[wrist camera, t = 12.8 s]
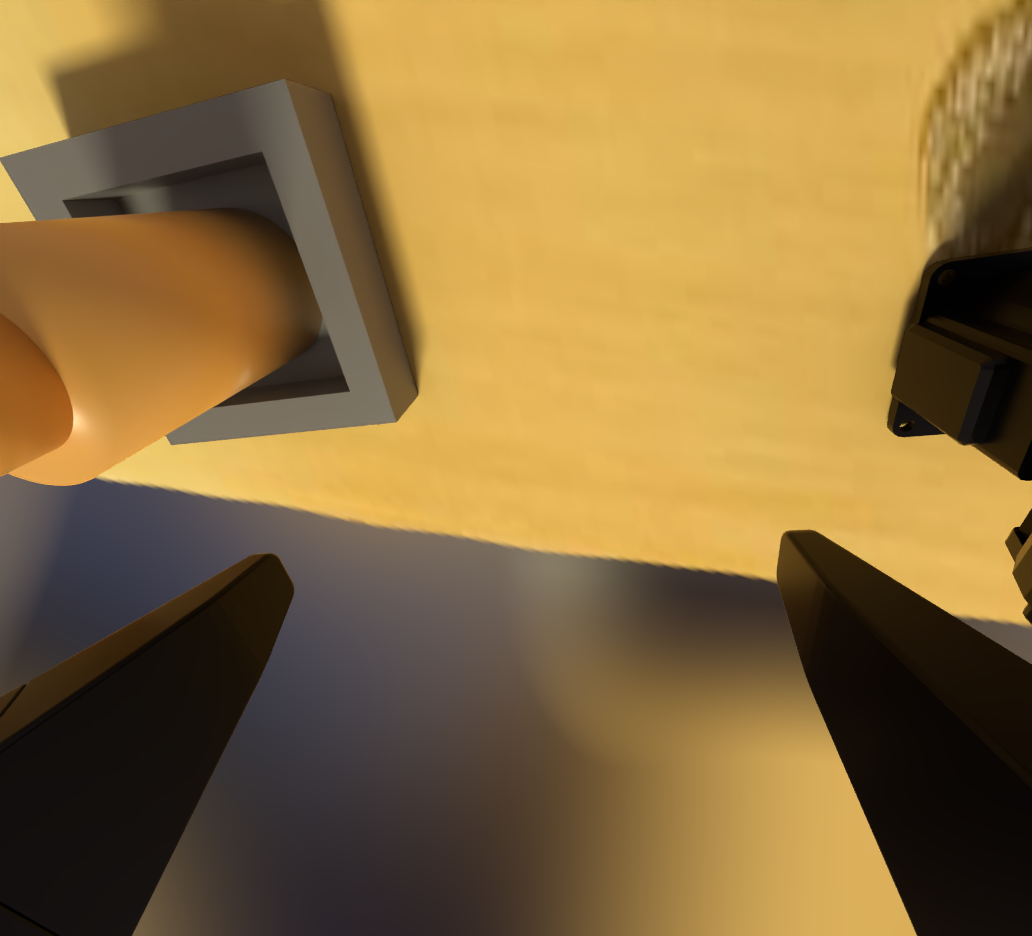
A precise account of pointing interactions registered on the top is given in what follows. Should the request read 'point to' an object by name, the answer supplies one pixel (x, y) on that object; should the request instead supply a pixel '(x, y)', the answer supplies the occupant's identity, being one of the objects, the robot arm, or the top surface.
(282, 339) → the peach lotion bottle
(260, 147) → the socket
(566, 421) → the top surface
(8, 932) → the robot arm
